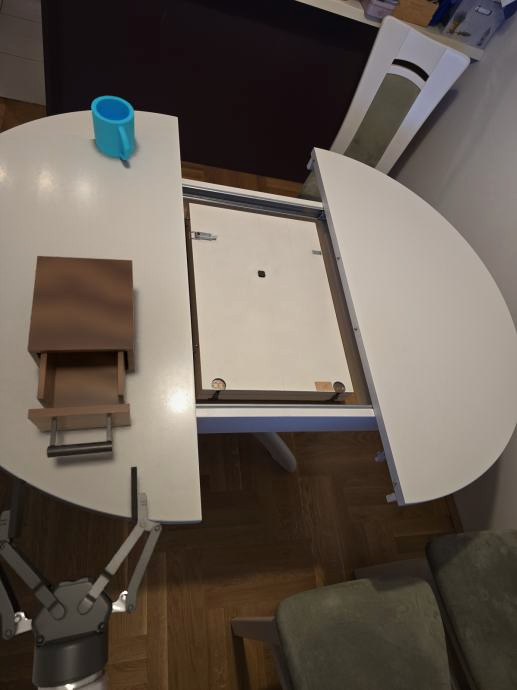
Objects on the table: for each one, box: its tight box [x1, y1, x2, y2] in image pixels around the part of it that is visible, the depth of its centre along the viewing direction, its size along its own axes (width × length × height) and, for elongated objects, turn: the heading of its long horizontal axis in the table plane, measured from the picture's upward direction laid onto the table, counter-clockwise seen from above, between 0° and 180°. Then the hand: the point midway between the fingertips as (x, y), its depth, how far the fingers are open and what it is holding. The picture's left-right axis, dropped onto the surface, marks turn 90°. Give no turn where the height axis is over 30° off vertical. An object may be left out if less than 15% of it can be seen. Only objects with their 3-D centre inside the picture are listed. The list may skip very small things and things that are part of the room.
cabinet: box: [27, 255, 135, 373], centre depth 62 cm, size 16×14×10 cm
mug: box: [90, 95, 136, 161], centre depth 82 cm, size 12×8×8 cm
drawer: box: [27, 351, 132, 459], centre depth 58 cm, size 20×13×8 cm, turn 8°
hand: (79, 473), depth 51 cm, fingers open, 13 cm apart
